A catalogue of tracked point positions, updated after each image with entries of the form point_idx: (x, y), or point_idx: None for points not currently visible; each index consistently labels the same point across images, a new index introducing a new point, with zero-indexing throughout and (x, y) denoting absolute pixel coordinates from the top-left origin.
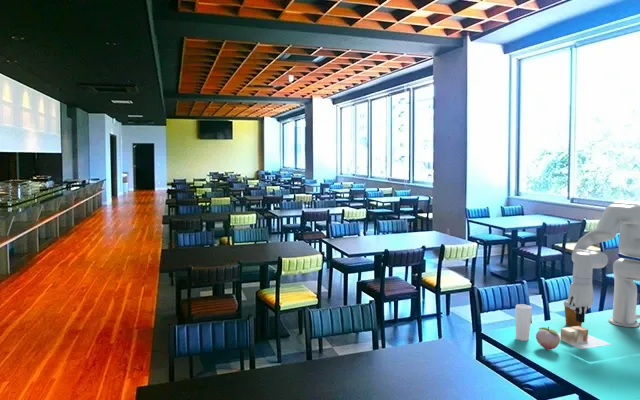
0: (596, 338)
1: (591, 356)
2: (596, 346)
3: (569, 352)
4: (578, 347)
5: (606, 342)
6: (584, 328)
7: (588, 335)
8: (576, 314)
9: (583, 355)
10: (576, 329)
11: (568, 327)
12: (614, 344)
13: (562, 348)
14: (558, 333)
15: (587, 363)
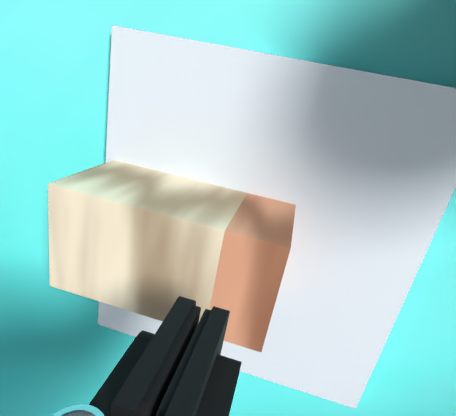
0: (389, 307)
1: (90, 380)
2: None
3: (26, 294)
4: (106, 306)
5: (360, 379)
6: (260, 320)
7: (411, 238)
8: (99, 393)
9: (63, 352)
10: (159, 287)
11: (136, 212)
12: (399, 404)
13: (31, 243)
14: (215, 56)
15: (11, 394)
